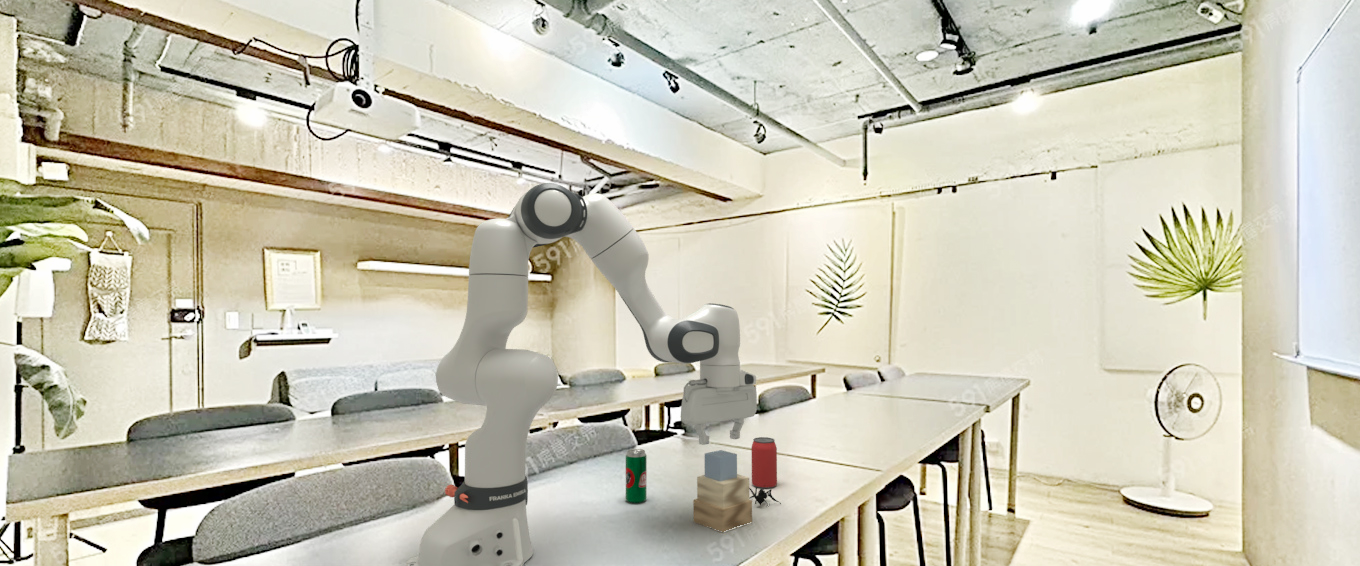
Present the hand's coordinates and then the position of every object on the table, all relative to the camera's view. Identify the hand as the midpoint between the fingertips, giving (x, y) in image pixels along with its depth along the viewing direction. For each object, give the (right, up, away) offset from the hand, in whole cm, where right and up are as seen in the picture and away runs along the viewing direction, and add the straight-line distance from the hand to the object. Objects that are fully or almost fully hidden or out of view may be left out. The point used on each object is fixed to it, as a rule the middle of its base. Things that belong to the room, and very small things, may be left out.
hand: (719, 441), depth 135 cm
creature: (+11, -18, +12) cm, 25 cm away
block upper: (+1, -13, 0) cm, 13 cm away
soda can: (-19, -18, +14) cm, 30 cm away
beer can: (+13, -19, +27) cm, 35 cm away
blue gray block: (0, -8, 0) cm, 8 cm away
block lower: (+1, -18, -1) cm, 18 cm away
